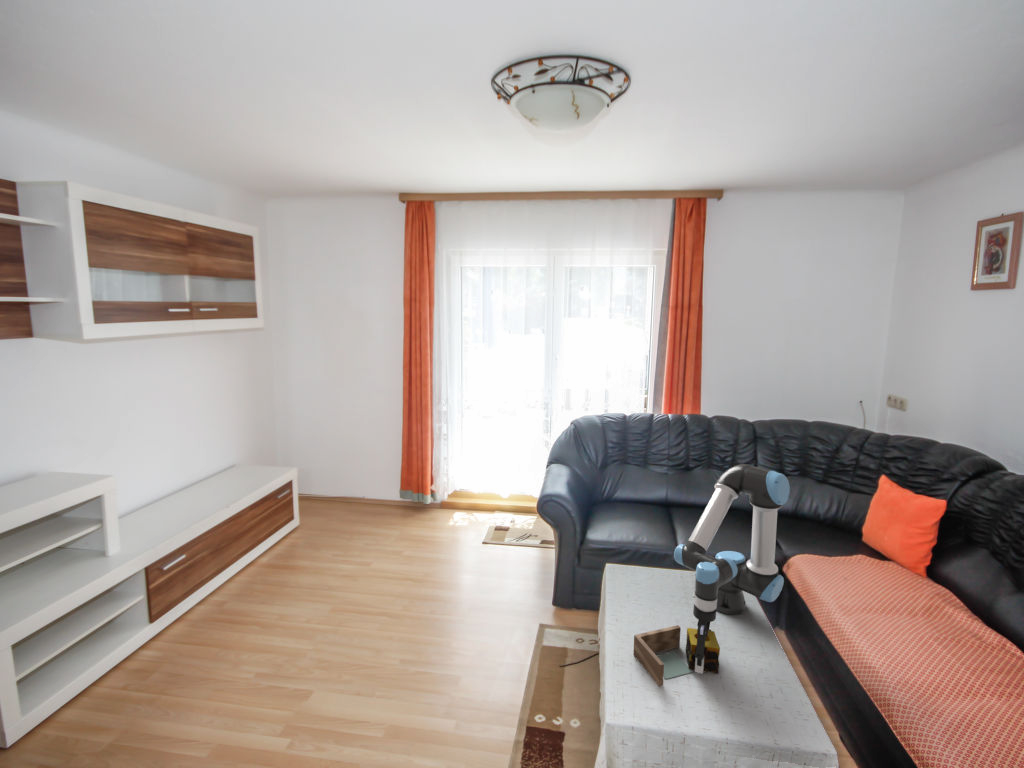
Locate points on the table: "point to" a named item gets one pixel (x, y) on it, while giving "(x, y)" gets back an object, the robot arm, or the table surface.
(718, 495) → the robot arm
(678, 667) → the mat
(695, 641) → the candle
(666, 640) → the corner walls
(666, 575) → the table surface
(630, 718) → the table surface
